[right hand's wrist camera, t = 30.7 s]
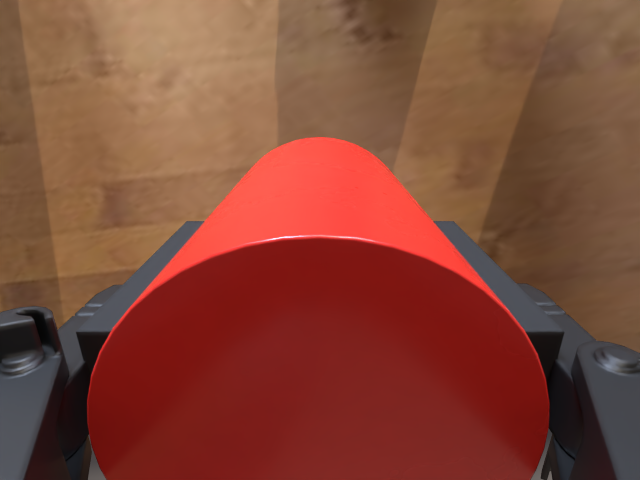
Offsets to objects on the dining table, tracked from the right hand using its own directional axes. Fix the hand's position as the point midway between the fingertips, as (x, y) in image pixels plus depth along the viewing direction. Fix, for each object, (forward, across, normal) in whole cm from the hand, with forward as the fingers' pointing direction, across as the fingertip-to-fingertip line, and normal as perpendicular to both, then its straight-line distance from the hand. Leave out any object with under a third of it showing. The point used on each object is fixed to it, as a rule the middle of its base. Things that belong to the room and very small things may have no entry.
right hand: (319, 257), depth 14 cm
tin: (+3, 0, 0) cm, 3 cm away
